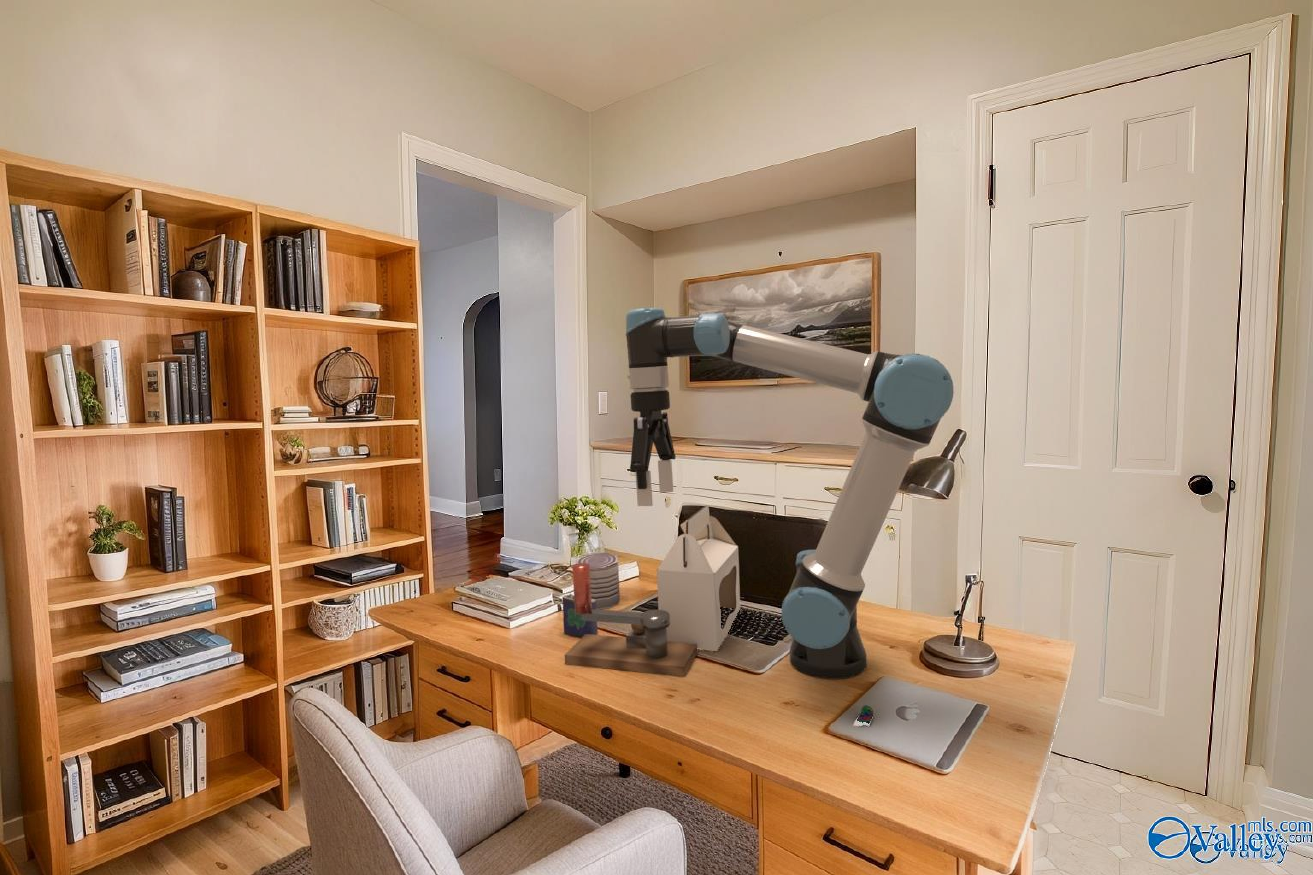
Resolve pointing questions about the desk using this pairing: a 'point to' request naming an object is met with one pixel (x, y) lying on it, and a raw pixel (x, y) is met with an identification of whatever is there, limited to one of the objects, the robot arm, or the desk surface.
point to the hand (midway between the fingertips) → (656, 498)
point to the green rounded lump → (865, 714)
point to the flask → (577, 619)
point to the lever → (584, 607)
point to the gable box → (700, 582)
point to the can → (603, 578)
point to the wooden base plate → (634, 652)
